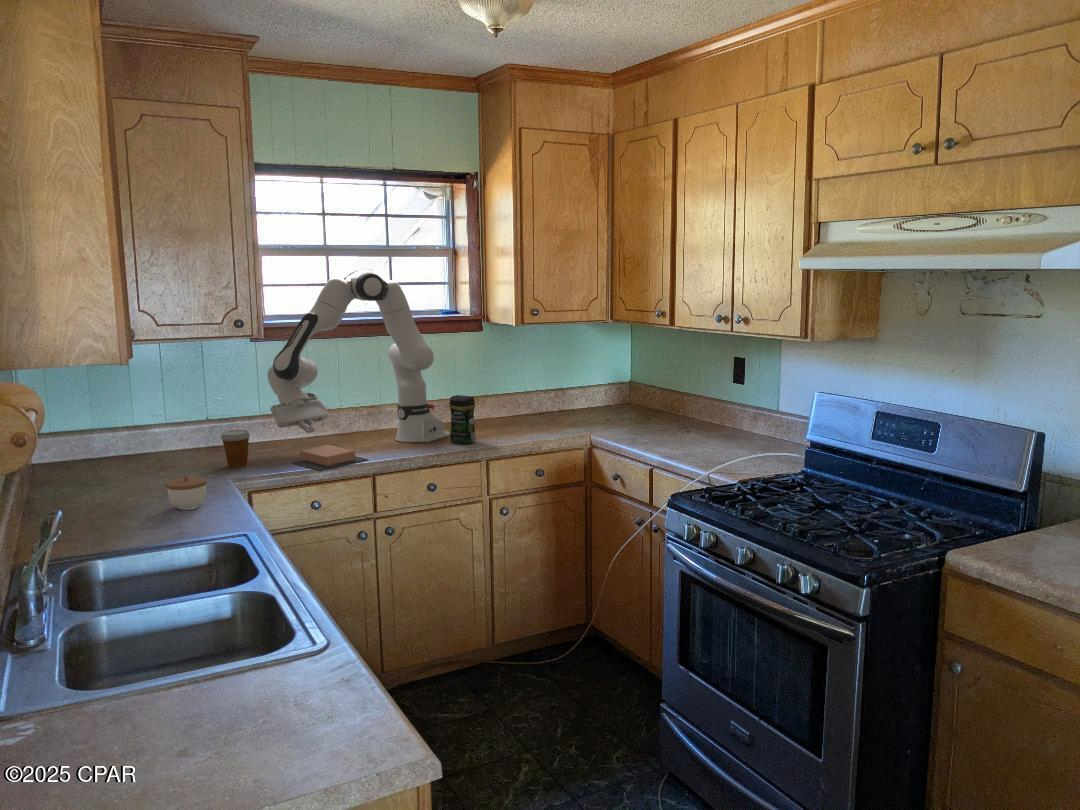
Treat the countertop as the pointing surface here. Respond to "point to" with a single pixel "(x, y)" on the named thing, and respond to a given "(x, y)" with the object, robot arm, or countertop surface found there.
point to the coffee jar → (462, 419)
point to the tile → (327, 455)
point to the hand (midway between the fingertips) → (310, 431)
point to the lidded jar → (186, 491)
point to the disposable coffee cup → (236, 447)
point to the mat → (322, 467)
